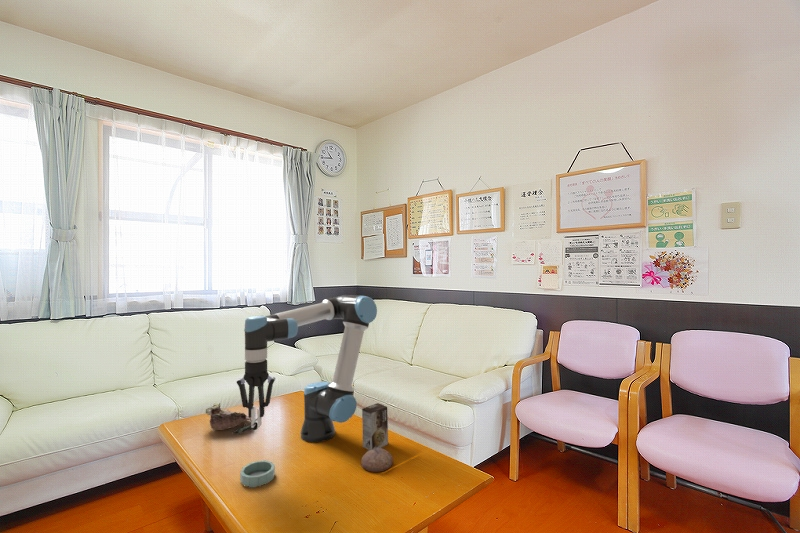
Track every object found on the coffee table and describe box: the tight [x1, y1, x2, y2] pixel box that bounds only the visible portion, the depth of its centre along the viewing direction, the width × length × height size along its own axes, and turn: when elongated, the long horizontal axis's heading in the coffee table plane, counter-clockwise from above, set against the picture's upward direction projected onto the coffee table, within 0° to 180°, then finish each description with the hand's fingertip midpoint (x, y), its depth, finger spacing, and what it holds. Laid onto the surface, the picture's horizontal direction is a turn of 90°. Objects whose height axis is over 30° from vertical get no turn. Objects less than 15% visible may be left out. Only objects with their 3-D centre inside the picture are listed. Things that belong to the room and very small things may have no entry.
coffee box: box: [361, 402, 389, 451], centre depth 160 cm, size 9×6×16 cm
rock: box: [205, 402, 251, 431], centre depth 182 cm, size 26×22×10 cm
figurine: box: [232, 418, 258, 435], centre depth 140 cm, size 6×4×12 cm
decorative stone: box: [360, 447, 394, 473], centre depth 144 cm, size 12×12×6 cm
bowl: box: [239, 459, 276, 488], centre depth 136 cm, size 11×11×4 cm
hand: (256, 425), depth 137 cm, fingers closed on figurine
